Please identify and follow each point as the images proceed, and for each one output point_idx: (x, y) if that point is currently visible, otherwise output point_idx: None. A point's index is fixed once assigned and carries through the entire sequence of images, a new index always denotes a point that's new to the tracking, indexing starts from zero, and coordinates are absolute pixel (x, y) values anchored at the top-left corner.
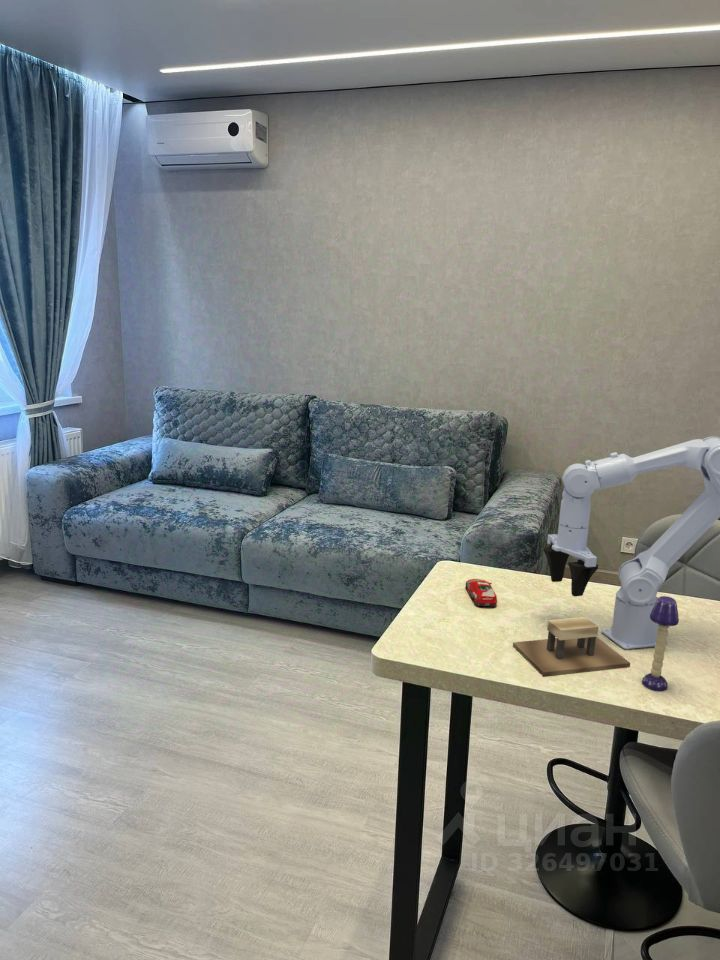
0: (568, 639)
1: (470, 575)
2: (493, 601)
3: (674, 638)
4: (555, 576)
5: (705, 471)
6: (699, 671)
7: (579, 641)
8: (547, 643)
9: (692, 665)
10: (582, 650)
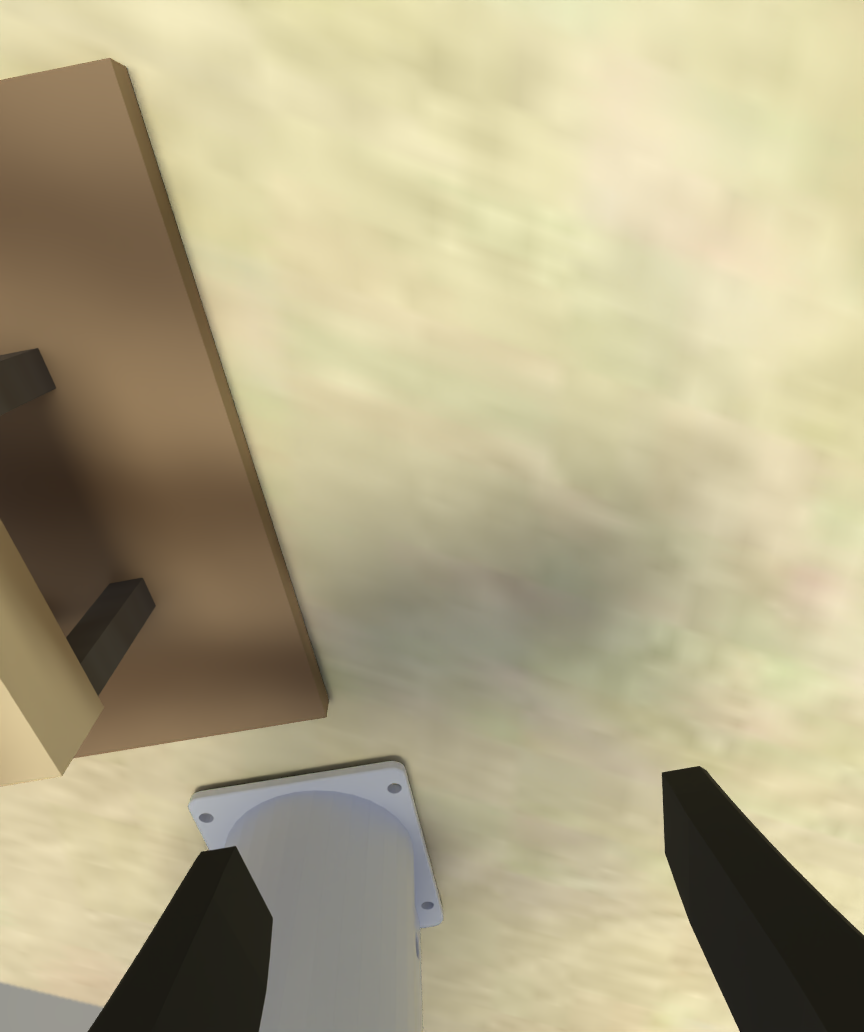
0: (239, 557)
1: None
2: None
3: None
4: (694, 862)
5: None
6: (35, 964)
7: (100, 607)
8: (4, 358)
9: (88, 960)
10: (77, 589)
